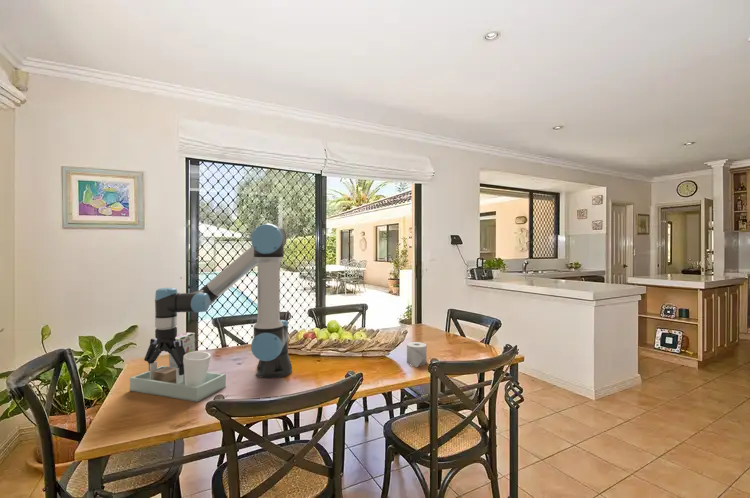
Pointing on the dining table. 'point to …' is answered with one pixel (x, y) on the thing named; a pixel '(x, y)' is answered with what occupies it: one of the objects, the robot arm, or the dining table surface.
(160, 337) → the robot arm
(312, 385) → the dining table surface
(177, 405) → the dining table surface
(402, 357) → the dining table surface
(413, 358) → the toilet tissue
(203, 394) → the tote
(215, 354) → the dining table surface
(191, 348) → the candy bar box
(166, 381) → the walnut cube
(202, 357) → the foam cup
